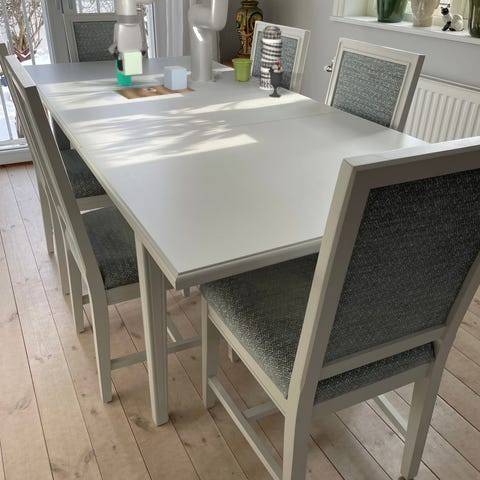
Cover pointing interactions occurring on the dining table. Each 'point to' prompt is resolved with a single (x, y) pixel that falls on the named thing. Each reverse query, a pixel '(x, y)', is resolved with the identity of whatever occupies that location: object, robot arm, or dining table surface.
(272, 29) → the decorative candle
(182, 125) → the dining table surface
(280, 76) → the sundae
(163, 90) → the board
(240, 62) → the plant pot
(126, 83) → the candle
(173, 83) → the blue cover
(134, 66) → the pale green block
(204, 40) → the robot arm
